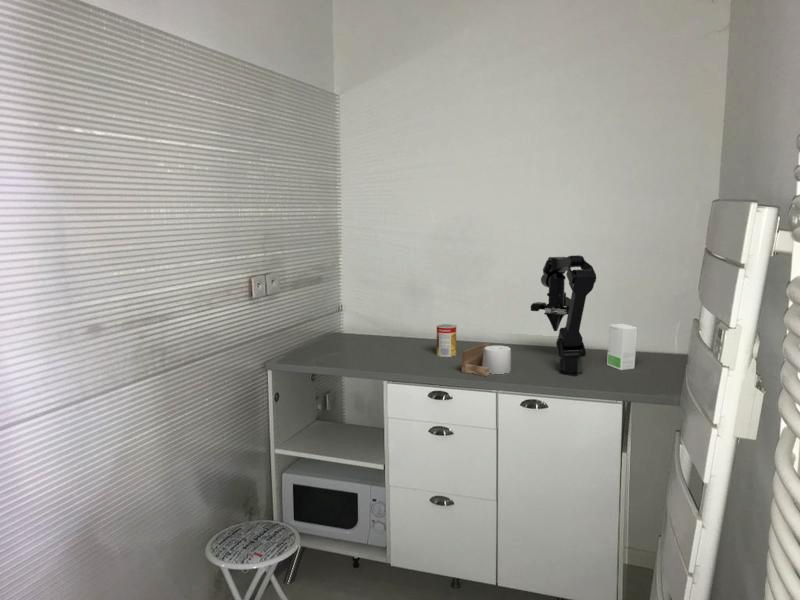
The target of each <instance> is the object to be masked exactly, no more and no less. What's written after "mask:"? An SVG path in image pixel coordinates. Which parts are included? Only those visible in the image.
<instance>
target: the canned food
mask: <svg viewBox="0 0 800 600" xmlns="http://www.w3.org/2000/svg"><path fill="white" fill-rule="evenodd" d="M436 356H437V357H440V358H441V357H442V358H452V356H454V357H456V356H457V325H456V324H453V323H441V324H436Z"/></svg>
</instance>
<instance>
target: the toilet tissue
mask: <svg viewBox="0 0 800 600" xmlns="http://www.w3.org/2000/svg"><path fill="white" fill-rule="evenodd" d="M482 367H485V368H486V367H488V368H489V373H492V374H491V375H493V374H503V375H505V374H504V373H508V374H510V373H511V372H510V371H512V370H511V369H512V349H511V347H509V346H506V345H490V346H487V347H485V348H484V354H483V363H482ZM509 372H510V373H509Z"/></svg>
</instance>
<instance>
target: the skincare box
mask: <svg viewBox="0 0 800 600" xmlns="http://www.w3.org/2000/svg"><path fill="white" fill-rule="evenodd" d="M608 327H609V328H608V342H607V360H606V365H607V366H609V367H611V368H614V369H617V370H619V371H624V370H625V371H626V370H633V369H635V366H636V354H637V353H636V352H637V338H638V327H636V326H634V325H630V324H626V323H622V322H621V323H613V324H609V326H608Z"/></svg>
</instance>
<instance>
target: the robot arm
mask: <svg viewBox="0 0 800 600" xmlns="http://www.w3.org/2000/svg"><path fill="white" fill-rule="evenodd" d="M571 268H580V269H571ZM542 272H543V274H542V275H541V278H540V282H541V284H542V286H544V287H546V288H548V292H546V296H548V303H546V302H541V301H537V302H532V303H531V304H530V311H531V312H539V311H540V310H543V311H544V312H543V314H544V315H546V317H547V319H548V320H549V322H550V325H551V327H552V330H553V331H554V332H557V331H559V332H558V336H557V339H556V343H555V344H556V353H557V357H559V358H560V359H559V371H558V374H561V375H562V374H563V375H568V376H569V375H570V376H575V377H576V376H578V375H580V374H582V373H584V371H583V370H582V358H586V354H587V351H586V348H585V345H584V341H583V336H582V334H581V332H580V328H581V325H582V324H581V323H582V319H583V314H584V308H585V304H586V299H587V296H588V295H589V294H590V292H592V291H593V288H594V285H595V283H596V282H597V275H596V272H595V270H594V267H593V266H592V265H591V264H590V263H588V262H587V261H586V260H585V258H584V256H583V255H581V254H579V255H578V254H577V255H569V256H549V257H548V258H547V260H546V261H545V264H544V266H543V268H542ZM565 273H566V275H565ZM566 277H567V280H568V285H569V287H570V289H571V291H572V292H571V297H568V296H567V292H565V285H566V284H565V283H566V281H565V280H566ZM566 315H567V317H566V323H565V327H560V324H561V322H562V320H563V318H564V317H565V316H566ZM559 327H560V329H559Z"/></svg>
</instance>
